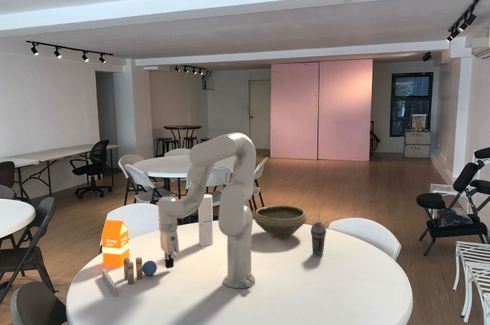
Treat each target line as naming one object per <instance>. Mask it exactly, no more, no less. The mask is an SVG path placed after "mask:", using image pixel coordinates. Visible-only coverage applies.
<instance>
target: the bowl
mask: <svg viewBox="0 0 490 325" xmlns="http://www.w3.org/2000/svg"><path fill="white" fill-rule="evenodd" d="M253 219H254V220H253V221H254V222H255V223H256V225H257V226H259V227H260V228H261V229H263V231H264V232H265V233H267V235H269V237H270V238H272V239H276V240H281V239H282V240H283V239H289V238H291V237H292V236H293V235H294V234H295V233H296V232H297V231H298V230H299V229H301V227H302V226H303V225H304V224H305V223H306V221H307V216H306V213H305V210H304V209H302V208H300V207H299V206H293V205H283V204H282V205H271V206H270V205H269V206H264V207H260V208H258V209H256V210H255V212H254V215H253Z"/></svg>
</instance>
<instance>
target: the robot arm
mask: <svg viewBox="0 0 490 325" xmlns="http://www.w3.org/2000/svg"><path fill="white" fill-rule="evenodd" d="M188 154H189V155H188V158H189V162H190V167H189V169H188V171H187V174H186V177H187V179H188V180H189V181H190V186H189V187H188V190H187V193H186V195H185V196H184V197H182V198H180V199H176V198H175V197H174V196H162V197H160V198H159V199H158V200H157V201H158V203H157V204H158V205H157V206H158V211H157V212H158V231H159V232H160V233H159V234H160V236H159V237H160V249H161V250H162V251H163V252H164V267H165V268H166V269H172V268H174V265H175V264H174V258H176V254H179V253H180V249H179V248H180V247H179V237H178V232H177V230H178V219H184V218H186V217H188V216H190V215H191V214H193V213H195V212H196V211H197V210H198V208H199V206H200V204H201V202H202V200H203V197H204V195H205V194H206V191H207V183H208V180H209V178H210V176H211V174H212V172H213V169H214V167H215V166H216V163H217V162H219V161H223V160H226V159H229V158H231V157H233V156H234V162H233V165H232V176H231V181H230V183H228V184H226V185H225V186H224V187H223V189H222V191H221V194H220V199H219V209H218V220H217V222H218V229H219V231H220V233H222V234H223V235H224V236H226V238H227V240H226V241H227V247H226V248H227V252H226V254H227V259H226V260H227V275H225V276H224V278H223V283H224V285H225V286H227V287H229V288H232V289H247V288H250V287H251V286H253V285H254V284H255V283H256V278H255V276H254V275H253V274H252V231H253V224H254V223H253V221H254V220H253V219H254V215H253V213H252V210H251V209H250V207H249V206H247V205H246V203H248V202H249V201H250V200H251V199H252V197H253V194H254V184H255V175H256V174H255V171H256V164H257V150H256V147H255V144H254V143H253V141H252V139H250V138H249V137H248V136H247V135H246V134H243V133H241V132H230V133H224V134H222V135H220V136H216V137H214V138H211V139H208V140H206V141H204V142H201V143H198V144H195V145H194V146H192V148H190V150H189V153H188Z"/></svg>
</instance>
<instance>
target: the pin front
mask: <svg viewBox="0 0 490 325" xmlns="http://www.w3.org/2000/svg"><path fill="white" fill-rule="evenodd" d="M142 267H143V258H142V257H135V270H136V272H135V273H136V280H142V279H143V278H144V277H143V276H144V275H143V274H144V273H143V271H142Z"/></svg>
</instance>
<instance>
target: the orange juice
mask: <svg viewBox="0 0 490 325" xmlns="http://www.w3.org/2000/svg"><path fill="white" fill-rule="evenodd" d="M101 243H102V244H101V245H102V249H101V250H102V262H103V264H102V265H103V266H105V267H115V268H117V267H118V268H122V267H124V262H123V261H124V258H130V242H129V229H128V227H127V226H126V223H125V221H124V220H114V219H105V222H104V225H103V229H102V232H101Z"/></svg>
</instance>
